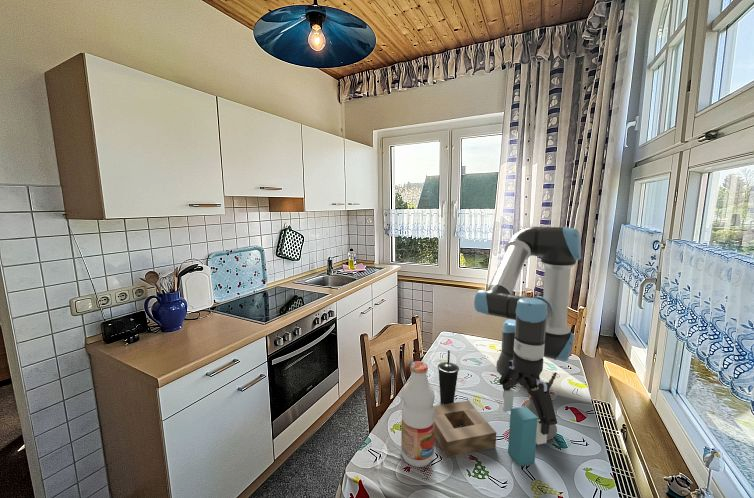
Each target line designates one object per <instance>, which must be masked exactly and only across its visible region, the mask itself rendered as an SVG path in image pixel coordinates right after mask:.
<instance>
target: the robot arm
mask: <svg viewBox="0 0 754 498" xmlns="http://www.w3.org/2000/svg"><path fill="white" fill-rule="evenodd" d="M531 256H532V257H533V256H535V257H539V258H540V257H541V258H540V261H541V263H542V265H543V266H544V281H543V296H540V295H537V296H533V297H527V296H521V295H514V294H512V293H513V292H514V290H515V289H514V288H515V286H516V284H517V281H518V278H519V277H520V274H521V272H522V270H523V269H522V268H523V266H524V264H525V262H526V260H528V259H529V258H530V257H531ZM581 258H582V241H581V233H580V231H579V230H578V228H575V227H573V228H572V227H565V226H559V227H558V226H553V227H552V226H529V227H526V228H523V229H520V231H518V232H516V233H514V234H513V235H511V237H510V238H509V239H508V241H507V242H506V244H505V246H504V254H503V257H502V258H501V259H500V262H499V265H498V266H497V269H496V271H495V273H494V275H493V276H492V279H491V281H490V284H489V285H488V288H487V289H479V290H477V292H476V293H475V296H474V302H473V305H474V309H475V311H476V312H477V313H480V314H483V315H487V316H493V317H498V318H502V319H504V318H505V319H506V320H505V321H504V322H503V323H502V330H501V352H500V354H499V356H498V359H497V361H496V370H497V372H498V373H500V374H501V376H500V378H499V380H498V382H499V385H502V389H503V394H502V395H503V407H502V411H503V412H504V413H506V412H511V409H513V407H514V406H513V405H514V395H515V394H514V390H513V389H514V387H515V386H517V385H520V386H522V387H523V388H524V389H525V390H526V391H527V395H528V394H530V395H531V397H532V400H533V403H534V405H535V408H536V411H537V413H538V416H539V420H537V431H536V445H543V444H547V441H548V440H547V434H548V433H549V425H554V424H556V425H557V424H558V420H557V415H556V412H555V408H554V404H553V400H552V396H551V393H550V392H551V391H550V389H551V387H550V386H549V383H548V382H549V381H547V382H544V381H542V380H541V377H540V375H541V373H542V372H543V369H544V358H548V359H552V360H554V361H560V362H567V361H568V360H569V358H570V355H571V350H572V347H573V344H574V340H575V334H574V333H572V332H571V327H570V326H569V325H568V323H567V321H568V311H569V310H568V308H569V307H568V306H569V293H570V284H571V283H570V281H571V268H572V267H574V266H575V265H576V263H577V261H579V260H581ZM532 390H535V391H532Z"/></svg>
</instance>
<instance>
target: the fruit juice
mask: <svg viewBox="0 0 754 498" xmlns="http://www.w3.org/2000/svg"><path fill="white" fill-rule="evenodd" d="M428 369H429V367H428V364H427V362H423V361H418V360H416V361H413V362H411V363H410V366H409V370H410V376H409V380H408V382H406V383H405V384H404V386H403V388H402V395H401V396H402V400H403V404H402V407H401V429H400V430H401V431H400V432H401V434H400V435H401V437H400V438H401V441H400V443H401V446H400V448H401V457H402V458H403V460H404V461H405V462H406V463H407V464H408V465H410V466H411V467H416V468H421V467H427V466H428V465H429V464H430V463H432V461H433V458H434V452H435V451H434V449H435V448H434V447H435V446H434V445H435V436H434V420H435V414H434V407H433V406H434V401H435V391H434V388H433V387H432V385H431V383H430V382H429V380H428V376H427V373H428V371H429V370H428Z"/></svg>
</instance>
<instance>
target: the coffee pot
mask: <svg viewBox="0 0 754 498" xmlns="http://www.w3.org/2000/svg"><path fill="white" fill-rule="evenodd" d="M557 375H558V378H560V374H558V373H557V372H555V371H554V372H553V373H552V375H551V377H550V379H549V380H548V381H547V382H548V383H549V386H550V388H551V387H552V386H553V384H554V381H555V380H556V378H557ZM531 390H532V391H535V390H536V389H531ZM527 396H528V398H529V399H528V400H527V402H526V403H525V405H524V406H523V407H525V406H526V407H527V408H528V409H529V410H530V411H531V412H532V413H534V414H535V415H536V416H537V417H538V420H539V416H538V413H537V411H536V408H535V405H534V403H533V400H532V397H531V395H530V394H528V393H527ZM557 432H558V428H557V424H554V425H549V433H548V434H547V441H548V440H551V439H553V438H554V437H555V436H556V435H557Z"/></svg>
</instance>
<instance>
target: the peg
mask: <svg viewBox="0 0 754 498" xmlns="http://www.w3.org/2000/svg"><path fill="white" fill-rule="evenodd" d="M524 406H525V405H524ZM524 406H520V407H514V408H513V409H511V411H510V415H509V434H508V447H507V448H508V450H507V453H508V454H509V455H510V457H511V458H512V459H513V460H514V462H515V463H516V464H517V465H518V466H519V467H521V466H526V465H530V464H534V463H535V461H536V450H537V443H536V431H537V420H538V417H537V416H536V415H535V414H534V413H532V412H531V411H530V410H529V409H528V408H527V407H526V406H525V407H524Z"/></svg>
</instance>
